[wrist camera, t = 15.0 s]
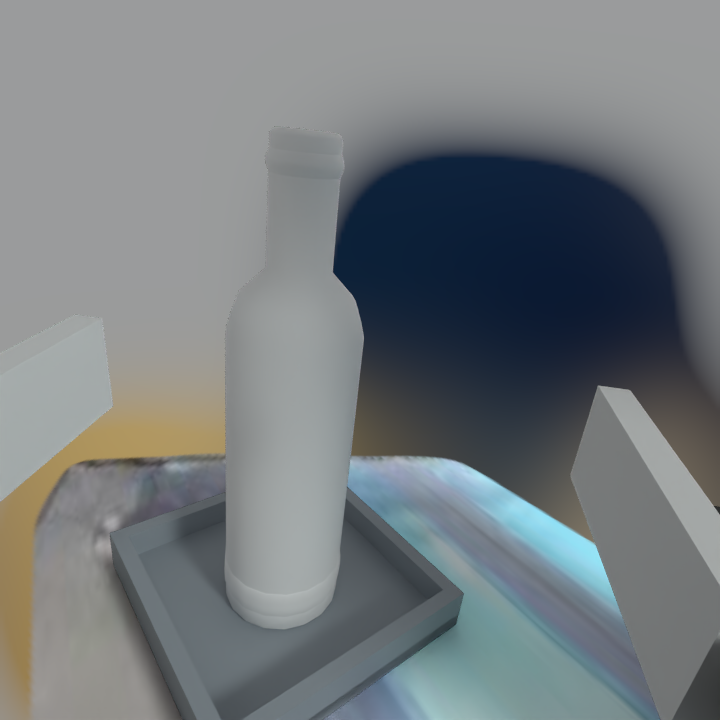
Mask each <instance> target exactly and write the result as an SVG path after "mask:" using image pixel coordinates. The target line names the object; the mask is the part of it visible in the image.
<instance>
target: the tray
mask: <svg viewBox="0 0 720 720" xmlns="http://www.w3.org/2000/svg"><path fill="white" fill-rule="evenodd" d="M110 540H111V548H112V556H113V564H114V567H115V569H116V571H117V573H118V576H119V578H120V580H121V582H122V585H123V587H124V589H125V591H126V594H127V596H128V598H129V600H130V603H131V605H132V607H133V609H134V611H135V614H136V616H137V618H138V620H139V623H140V625H141V627H142V629H143V632H144V634H145V636H146V638H147V641H148V643H149V645H150V647H151V650H152V652H153V654H154V656H155V659H156V661H157V663H158V665H159V668H160V670H161V672H162V674H163V676H164V679H165V681H166V683H167V685H168V688H169V690H170V692H171V694H172V697H173V699H174V701H175V703H176V706H177V708H178V710H179V712H180V715H181V717H182V719H183V720H323V719H324V718H326V717H327V716H328V715H330V714H331V713H333V712H334V711H335V710H337V709H338V708H340V707H341V706H342V705H344V704H345V703H347V702H348V701H349V700H351V699H352V698H353V697H355V696H356V695H358V694H359V693H360V692H362V691H363V690H365V689H366V688H367V687H369V686H370V685H372V684H373V683H374V682H376V681H377V680H379V679H380V678H381V677H383V676H384V675H386V674H387V673H388V672H390V671H391V670H393V669H394V668H395V667H397V666H398V665H400V664H401V663H402V662H404V661H405V660H406V659H408V658H409V657H411V656H412V655H413V654H415V653H416V652H418V651H419V650H420V649H422V648H423V647H425V646H426V645H427V644H429V643H430V642H432V641H433V640H434V639H436V638H437V637H439V636H440V635H441V634H443V633H444V632H446V631H447V630H448V629H450V628H451V627H453V626H454V625H455V624H456V622H457V618H458V614H459V610H460V606H461V603H462V599H463V595H464V593H463V592H462V591H461V590H460V589H459V588H457V587H456V586H455V585H454V584H453V583H452V582H451V581H450V580H449V579H448V578H447V577H445V576H444V575H443V574H442V573H441V572H440V571H439V570H438V569H437V568H436V567H434V566H433V565H432V564H431V563H430V562H429V561H428V560H427V559H426V558H425V557H424V556H422V555H421V554H420V553H419V552H418V551H417V550H416V549H415V548H414V547H413V546H411V545H410V544H409V543H408V542H407V541H406V540H405V539H404V538H403V537H402V536H401V535H399V534H398V533H397V532H396V531H395V530H394V529H393V528H392V527H391V526H390V525H388V524H387V523H386V522H385V521H384V520H383V519H382V518H381V517H380V516H379V515H378V514H376V513H375V512H374V511H373V510H372V509H371V508H370V507H369V506H368V505H367V504H365V503H364V502H363V501H362V500H361V499H360V498H359V497H358V496H357V495H356V494H355V493H353V492H352V491H351V490H350V489H349V488H348V487H347V492H346V500H345V509H344V518H343V527H342V536H341V545H340V567H339V572H338V576H337V580H336V587H335V591H334V595H333V598H332V601H331V602H330V604H329V605H328V606H327V608H326V609H325V610H324V611H323V613H322V614H321V615H319V616H318V617H316V618H315V619H313V620H311V621H310V622H308V623H306V624H305V625H301V626H297V627H293V628H289V629H269V628H262V627H260V626H257V625H255V624H252V623H250V622H247V621H245V620H244V619H243V618H242V617H241V616H240V615H239V614H238V613H237V612H236V611H234V610H233V609H232V606H231V604H230V602H229V599H228V597H227V594H226V581H225V574H224V567H225V551H226V492H224V493H222V494H219V495H216V496H213V497H210V498H207V499H205V500H202V501H199V502H196V503H193V504H191V505H188V506H185V507H182V508H179V509H176V510H174V511H171V512H168V513H165V514H162V515H159V516H157V517H154V518H151V519H148V520H145V521H143V522H140V523H137V524H134V525H131V526H128V527H126V528H123V529H120V530H117V531H114V532H111V533H110Z"/></svg>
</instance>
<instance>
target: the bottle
mask: <svg viewBox="0 0 720 720" xmlns="http://www.w3.org/2000/svg"><path fill="white" fill-rule="evenodd" d="M342 150H343V138H342V137H341V136H340V135H339V133H334V132H326V131H317V130H308V129H300V128H290V127H279V126H275V127H273V128H272V129H271V130H270V131H269V147H268V150H267V152H266V155H265V163H266V166H267V169H268V191H267V227H266V262H265V268H264V269H263V270H262V271H261V272H260V273H258V274H257V275H256V276H255V277H254V278H253V279H251V280H250V281H249V282H248V283H247V284H246V285H245V286H243V287H242V288H241V289H240V290H239V291H238V294H237V297H236V299H235V301H234V304H233V306H232V309H231V312H230V315H229V318H228V322H227V324H226V333H225V370H226V371H225V375H226V376H225V385H226V386H225V388H226V389H225V391H226V392H225V395H226V396H225V398H226V399H225V401H226V402H225V404H226V551H225V567H224V574H225V581H226V594H227V597H228V599H229V602H230V604H231V606H232V609H233V610H234V611H236V612H237V613H238V614H239V615H240V616H241V617H242V618H243V619H244V620H245V621H247V622H250V623H252V624H255V625H257V626H260V627H262V628H269V629H289V628H293V627H297V626H301V625H305V624H306V623H308V622H310V621H311V620H313V619H315V618H316V617H318V616H319V615H321V614H322V613H323V611H324V610H325V609H326V608H327V606H328V605H329V604H330V602H331V601H332V598H333V595H334V591H335V587H336V580H337V576H338V572H339V567H340V545H341V536H342V527H343V518H344V509H345V500H346V492H347V483H348V474H349V465H350V456H351V446H352V439H353V438H352V437H353V430H354V421H355V411H356V403H357V394H358V386H359V376H360V368H361V359H362V350H363V341H364V335H363V330H362V325H361V320H360V316H359V312H358V308H357V305H356V301H355V299H354V298H353V296H352V294H351V293H350V292H349V291H348V290H347V289H346V288H345V286H344V285H343V284H342V283H341V282H340V281H339V279H338V278H337V277H336V276H335V275H334V274H333V260H334V248H335V235H336V224H337V211H338V200H339V187H340V178H341V176H342V174H343V171H344V165H345V163H344V159H343V156H342Z"/></svg>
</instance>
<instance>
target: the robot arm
mask: <svg viewBox="0 0 720 720" xmlns="http://www.w3.org/2000/svg"><path fill="white" fill-rule="evenodd" d="M111 407H113V401H112V393H111V385H110V377H109V369H108V361H107V353H106V346H105V338H104V330H103V322H102V318H99V317H91V316H84V315H77V314H76V315H74V316H72V317H70V318H68V319H66V320H64V321H62V322H60V323H58V324H56V325H54V326H52V327H50V328H48V329H46V330H44V331H42V332H40V333H38V334H36V335H34V336H32V337H30V338H28V339H26V340H24V341H22V342H21V343H19V344H17V345H15V346H13V347H11V348H9V349H7V350H5V351H3V352H1V353H0V502H1V501H2V500H3V499H4V498H5V497H6V496H8V495H9V494H10V493H11V492H12V491H14V490H15V489H16V488H17V487H18V486H19V485H21V484H22V483H23V482H24V481H25V480H26V479H28V478H29V477H30V476H31V475H32V474H34V473H35V472H36V471H37V470H38V469H39V468H41V467H42V466H43V465H44V464H45V463H46V462H48V461H49V460H50V459H51V458H52V457H53V456H55V455H56V454H57V453H58V452H60V451H61V450H62V449H63V448H64V447H65V446H67V445H68V444H69V443H70V442H71V441H72V440H74V439H75V438H76V437H77V436H78V435H80V434H81V433H82V432H83V431H84V430H85V429H87V428H88V427H89V426H90V425H91V424H93V423H94V422H95V421H96V420H97V419H98V418H100V417H101V416H102V415H103V414H104V413H105V412H107V411H108V410H109V409H110V408H111ZM570 477H571V479H572V482H573V485H574V487H575V490H576V493H577V495H578V498H579V501H580V504H581V507H582V509H583V512H584V514H585V517H586V520H587V523H588V525H589V528H590V531H591V533H592V536H593V539H594V542H595V544H596V547H597V550H598V552H599V555H600V558H601V560H602V563H603V566H604V569H605V571H606V574H607V577H608V579H609V582H610V585H611V587H612V590H613V593H614V596H615V598H616V601H617V604H618V606H619V609H620V612H621V614H622V617H623V620H624V622H625V625H626V628H627V631H628V633H629V636H630V639H631V641H632V644H633V647H634V649H635V652H636V655H637V658H638V660H639V663H640V666H641V668H642V671H643V674H644V676H645V679H646V682H647V685H648V687H649V690H650V693H651V695H652V698H653V701H654V703H655V706H656V709H657V711H658V714H659V717H660V720H720V507H717V506H713V505H712V503H711V502H710V500H709V499H708V498H707V496H706V495H705V494H704V492H703V491H702V490H701V488H700V487H699V485H698V484H697V483H696V481H695V480H694V478H693V477H692V476H691V474H690V473H689V471H688V470H687V469H686V467H685V466H684V464H683V463H682V462H681V461H680V459H679V457H678V456H677V455H676V453H675V452H674V451H673V449H672V448H671V446H670V445H669V444H668V442H667V441H666V439H665V438H664V437H663V435H662V434H661V433H660V431H659V430H658V428H657V427H656V426H655V424H654V423H653V421H652V420H651V419H650V417H649V416H648V414H647V413H646V412H645V410H644V409H643V407H641V405H640V403H639V402H638V401H637V399H636V398H635V396H634V395H633V394H632V392H631V391H630V390H625V389H618V388H610V387H603V386H598V388H597V391H596V394H595V397H594V401H593V404H592V407H591V410H590V414H589V417H588V420H587V423H586V427H585V430H584V433H583V436H582V439H581V443H580V446H579V449H578V452H577V455H576V459H575V462H574V465H573V468H572V472H571V475H570Z"/></svg>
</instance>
